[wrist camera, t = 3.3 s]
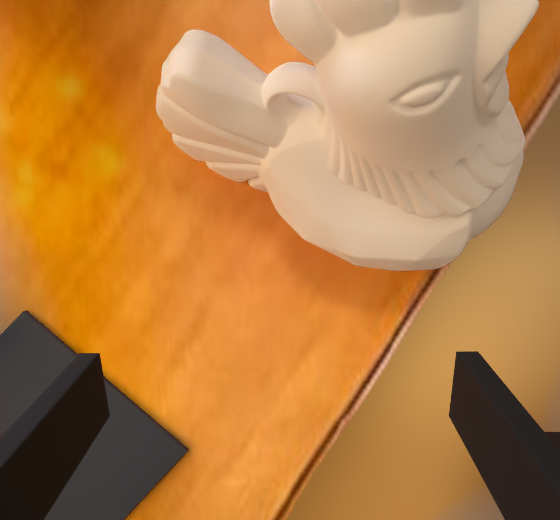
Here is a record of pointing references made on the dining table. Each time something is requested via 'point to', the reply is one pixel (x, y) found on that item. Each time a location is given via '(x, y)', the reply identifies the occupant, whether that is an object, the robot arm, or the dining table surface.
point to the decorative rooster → (363, 122)
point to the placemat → (109, 442)
